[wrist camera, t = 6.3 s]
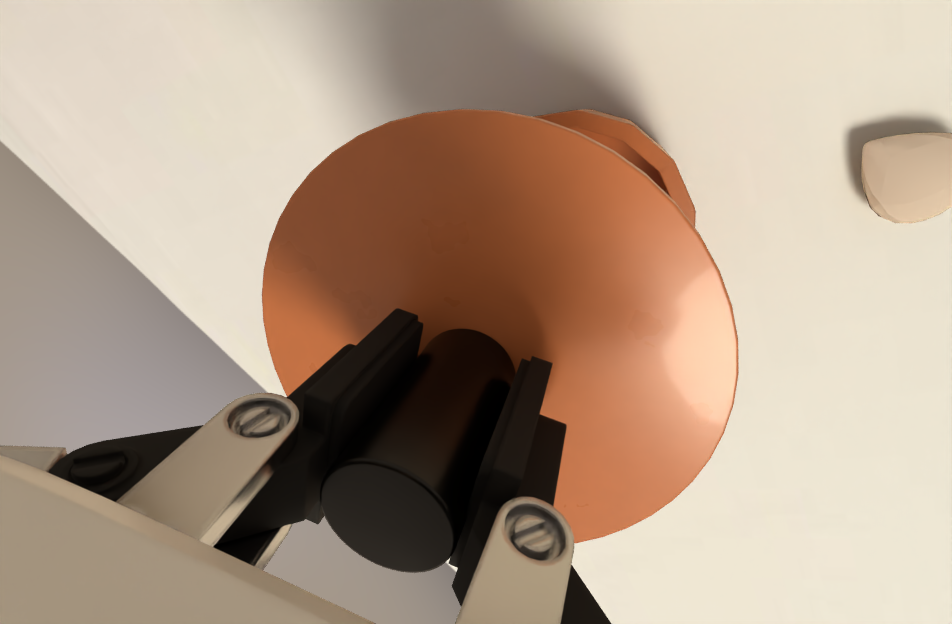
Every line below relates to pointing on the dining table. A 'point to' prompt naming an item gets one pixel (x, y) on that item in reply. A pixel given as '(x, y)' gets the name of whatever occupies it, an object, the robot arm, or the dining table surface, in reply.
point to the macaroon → (908, 176)
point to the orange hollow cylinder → (630, 149)
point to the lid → (501, 322)
